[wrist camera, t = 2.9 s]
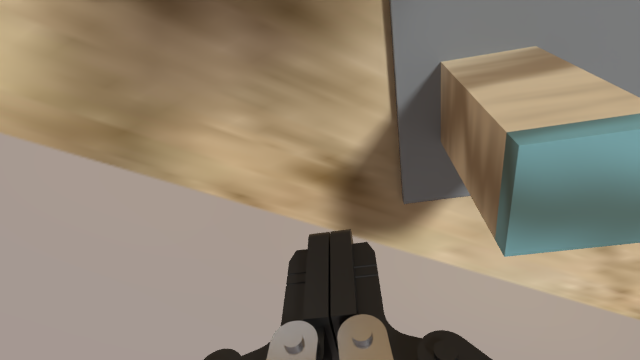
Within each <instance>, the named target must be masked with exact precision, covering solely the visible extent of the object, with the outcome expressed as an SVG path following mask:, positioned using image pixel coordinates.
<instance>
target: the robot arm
mask: <svg viewBox="0 0 640 360" xmlns="http://www.w3.org/2000/svg"><path fill="white" fill-rule="evenodd" d="M286 284H287V286H286V292H285V299H284V307H283V314H282V322H281V327H280V328H279V329H278V330H277V331H276V332H275V333H274V335H273V337H272V339H271V342H269V343H268V344H267V345H265V346H264V347H262V348H260V349H258V350H255V351H253V352H250V353H248V354H246V355H243V356H241V355H240V354H239V353H238V352H236V351H235V350H232V349H221V350H218V351H215V352H213V353H212V354H210V355H208V356H207V357H206V358H205V359H204V360H492V359H491V358H489V357H488V356H487V355H485V354H484V353H482V352H481V351H480V350H479V349H477V348H476V347H474V346H473V345H472V344H470V343H469V342H468V341H466V340H465V339H464V338H462V337H461V336H459V335H457V334H455V333H453V332H449V331H443V330H441V331H434V332H431V333H429V334H427V335H425V336H424V337H423V338H417V337H413V336H409V335H405V334H402V333H400V332H398V331H397V330H395V329H394V328H392V327H391V326H390V324H389V323H388V322H387V320H386V318H385V315H384V310H383V304H382V297H381V291H380V284H379V277H378V271H377V264H376V257H375V252H374V250H373V249H372V248H371V247H370V245H369V244H368V243H367V242H364V243H356V244H353V239H352V233H351V229H349V230H341V231H333V232H331V233H330V232H326V233H317V234H310V235H309V239H308V249H306V250H297V251H296V252H295V254H294V255H293V257H292V258H291V260H290V262H289V268H288V276H287V283H286Z"/></svg>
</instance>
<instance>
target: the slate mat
mask: <svg viewBox="0 0 640 360" xmlns="http://www.w3.org/2000/svg"><path fill="white" fill-rule="evenodd" d="M390 15H391V29H392V44H393V59H394V74H395V89H396V104H397V119H398V134H399V149H400V164H401V179H402V194H403V202H404V204H407V203H415V202H423V201H431V200H439V199H447V198H456V197H464V196H471V195H470V194H469V192H468V190H467V188H466V186H465V185H464V183H463V181H462V179H461V177H460V176H459V174H458V172H457V170H456V168H455V167H454V165H453V163H452V161H451V159H450V158H449V156H448V154H447V152H446V150H445V149H444V147H443V145H442V143H441V62H443V61H449V60H455V59H461V58H467V57H473V56H479V55H485V54H491V53H497V52H503V51H509V50H515V49H521V48H527V47H533V46H537V47H539V48H541V49H543V50H545V51H547V52H549V53H551V54H553V55H555V56H557V57H559V58H561V59H563V60H565V61H567V62H569V63H571V64H573V65H575V66H577V67H579V68H581V69H583V70H585V71H587V72H589V73H591V74H593V75H595V76H597V77H599V78H601V79H603V80H605V81H607V82H609V83H611V84H613V85H615V86H617V87H619V88H621V89H623V90H625V91H627V92H629V93H631V94H633V95H635V96H637V97H639V98H640V0H390Z"/></svg>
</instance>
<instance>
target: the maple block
mask: <svg viewBox="0 0 640 360" xmlns="http://www.w3.org/2000/svg"><path fill="white" fill-rule="evenodd" d="M441 143H442V145H443V147H444V149H445V150H446V152H447V154H448V156H449V158H450V159H451V161H452V163H453V165H454V167H455V168H456V170H457V172H458V174H459V176H460V177H461V179H462V181H463V183H464V185H465V186H466V188H467V190H468V192H469V194H470V195H471V197H472V199H473V201H474V203H475V204H476V206H477V208H478V210H479V212H480V213H481V215H482V217H483V219H484V221H485V222H486V224H487V226H488V228H489V230H490V231H491V233H492V235H493V237H494V239H495V240H496V242H497V244H498V246H499V248H500V249H501V251H502V253H503V255H504V257H506V256H515V255H525V254H535V253H544V252H554V251H563V250H573V249H583V248H592V247H602V246H611V245H621V244H630V243H640V98H639V97H637V96H635V95H633V94H631V93H629V92H627V91H625V90H623V89H621V88H619V87H617V86H615V85H613V84H611V83H609V82H607V81H605V80H603V79H601V78H599V77H597V76H595V75H593V74H591V73H589V72H587V71H585V70H583V69H581V68H579V67H577V66H575V65H573V64H571V63H569V62H567V61H565V60H563V59H561V58H559V57H557V56H555V55H553V54H551V53H549V52H547V51H545V50H543V49H541V48H539V47H537V46H533V47H527V48H521V49H515V50H509V51H503V52H497V53H491V54H485V55H479V56H473V57H467V58H461V59H455V60H449V61H443V62H441Z"/></svg>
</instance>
